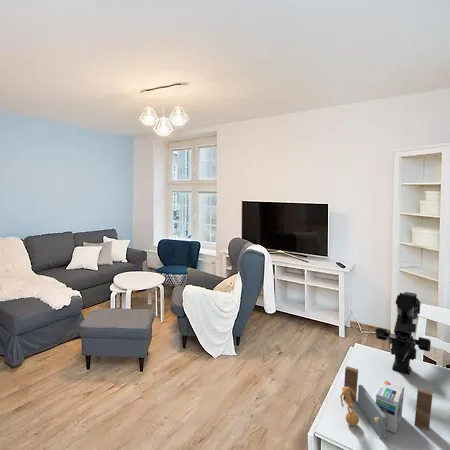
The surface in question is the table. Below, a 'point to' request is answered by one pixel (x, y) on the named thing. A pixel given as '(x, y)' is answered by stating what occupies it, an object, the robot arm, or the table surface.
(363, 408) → the gate
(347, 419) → the figurine
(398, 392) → the light bulb box
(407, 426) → the table surface
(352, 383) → the wooden fence posts
